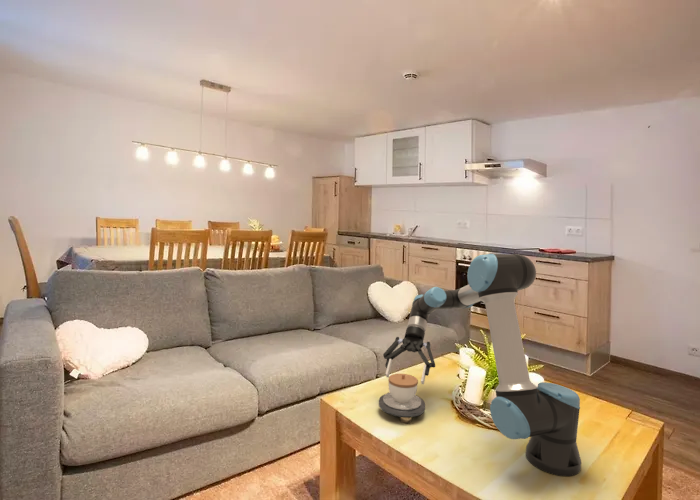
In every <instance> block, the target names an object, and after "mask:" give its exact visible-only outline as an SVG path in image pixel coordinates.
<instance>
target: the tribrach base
mask: <svg viewBox="0 0 700 500" xmlns="http://www.w3.org/2000/svg"><path fill="white" fill-rule="evenodd" d="M378 407H379V409H380V410H381V411H382V412H384V413H385V414H388V415H390V416H393V417H394V416H395V417H399V421H400V422H401V423H403V424H411V423H412V418H414V417H419V416H421V415H422V414H423V413H424V412H425V411H426V402H425V400H424V399H423V398H421V397H420V396H418V395H417V394H415V396H414V398H413V399H411V400H410V402H408V403H400V402H397V401H395V400H394V398H393V397H392V396H391V394H390V392H387V393H384V394H382V395H381V396H380V397H379V399H378Z"/></svg>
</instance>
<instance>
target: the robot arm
mask: <svg viewBox="0 0 700 500" xmlns="http://www.w3.org/2000/svg"><path fill="white" fill-rule="evenodd" d="M536 269H537V268H536V266H535V264H534V263H533V261H532V260H531V259H530V258H529V257H527V256H525V255H523V254H517V253H511V254H509V253H506V254H505V253H502V254H501V253H487V254H479V255H478V256H475V257H474V258H473V259H472V260H471V262H470V264H469V266H468V269H467V282H468V284H467V285H464V286H463V287H460V288H457V289H450V290H448V289H447V290H444V289H443V288H440V287H438V286H434V287H433V286H432V287H431V288H429V290H427V291H426V292H425V293H424V294H417V295H415V297H414V299H413V301H412V304H411V309H410V312H409V313H410V314H409V319H408V322H407V325H406V330H405V334H404V337H403V338H400V337H399V336H396V337H395V340H394V341H393V342H392V344H391V345H390V346H389V347H388V348H387V349H386V351H384V352H383V354H382V355H383V358H384V360H385V368H386V370H385V377H386V378H387V379H389V376H390V374H391V370H392V367H393V360H394V359H396V358H397V357H398V356H400V355H401V354H402V353H405V352H406V351H407V352H410V353H411V352H412V353H418V355H419V356H420V358H421V360H422V361H423V363H424V364H423V368H422V374H421V380H420V383H421V385H424V384H425V380H426V376H427V377H429V374H430V369H431V368H434V369H435V367H436V362H435V359H434V356H433V354H432V350H431V342H430V341H426V342H424V340H425V339H424V338H425V335H426V330H427V326H428V325H427V324H428V321H429V317H430V315H431V314H432V313H433V312H435V311H436V310H452V309H455V310H456V309H468V308H471V307H473V305H475V304H477V303H479V302H482V303H483V304H484V306H485V310H486V316H487V320H488V321H487V322H488V326H489V333H490V334H489V335H490V338H491V344H492V349H493V354H494V355H493V356H494V360H495V366H496V371H497V376H498V377H497V378H498V385H497V386H496V388H495V396H496V397H494V398H493V399H492V400H491V402H490V406H489V410H490V411H489V412H490V417H491V419H492V422H493V424H494V426H495V427H496V429H498V431H499V432H500V433H501V434H502V435H503V436H504V437H506V438H508V439H511V440H525V439H528V438H529V440H528V442H527V444H526V447H525V458H526V459H527V461H529V463H530V464H531V465H532V466H534V467H535V468H537V469H539V470H541V471H543V472H544V473H548V474H552V475H554V474H555V476H560V477H572V476H576V475H578V474H579V473H580V472H581V470H580V469H581V468H582V460H581V456H580V452H579V447H578V445H577V444H578V443H577V439H578V438H577V437H578V427H579V417H580V409H581V406H580V405H581V404H580V403H581V399H580V396H579V394H578V393H577V392H575V391H574V390H572V389H571V388H569V387H566V386H562V385H560V384H557V383H552V382H546V381H545V382H543V381H542V382H540V383H538V384H537V385H536V384H534V383H533V382H532V381H531V379H530V375H529V369H528V364H527V359H526V355H525V349H524V348H525V347H524V344H523V339H522V333H521V329H520V325H519V324H520V323H519V320H518V315H517V309H516V304H515V303H516V302H515V299H516V297H518V295H519V293H518V292H519V291H521V290H522V291H523V290H525V289H527V288H529V287H530V286H532V285H533V283H534V282H535V280H536V277H537V270H536ZM400 344H401V345H400ZM399 345H400V346H399ZM398 346H399V347H398ZM396 348H397V349H396ZM422 348H425V349H426V351H427V354H428V358H429V360H430V361H429V360H428V358H427V356H426V355H425V353H424V352H423V351H422Z"/></svg>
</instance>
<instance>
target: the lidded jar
mask: <svg viewBox="0 0 700 500" xmlns="http://www.w3.org/2000/svg"><path fill="white" fill-rule="evenodd" d="M387 379H388V391H389V392H390V394H391V396H392V397H393V398H394V400H395V401H397V402H400V403H408V402H410V400H411V399H413V398H414V396H415V395H417V390H418V384H419V383H418V382H419V380H418V378H417V377H415V375H412V374H407V373H394V374H391V375H389V378H387ZM389 392H388V393H389Z"/></svg>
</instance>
